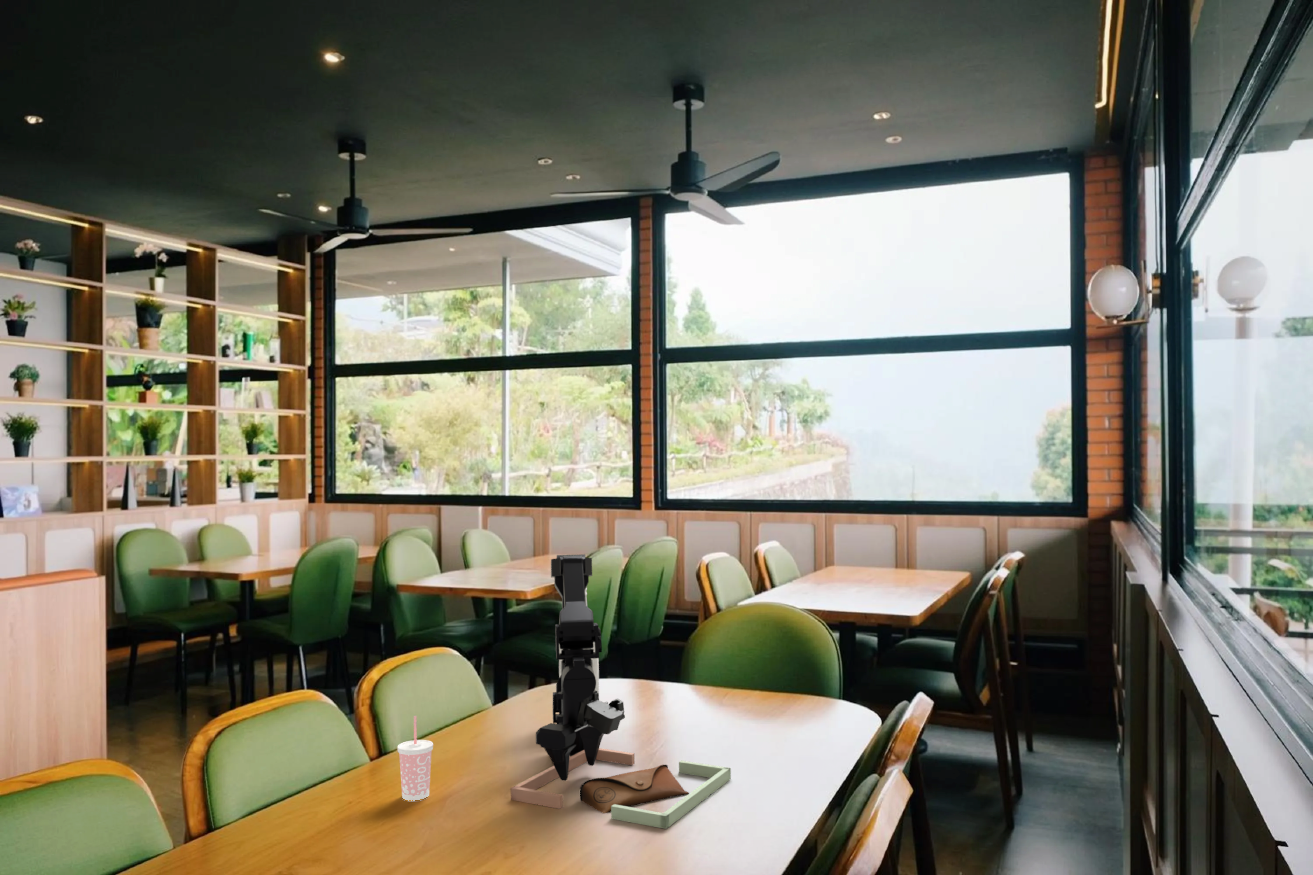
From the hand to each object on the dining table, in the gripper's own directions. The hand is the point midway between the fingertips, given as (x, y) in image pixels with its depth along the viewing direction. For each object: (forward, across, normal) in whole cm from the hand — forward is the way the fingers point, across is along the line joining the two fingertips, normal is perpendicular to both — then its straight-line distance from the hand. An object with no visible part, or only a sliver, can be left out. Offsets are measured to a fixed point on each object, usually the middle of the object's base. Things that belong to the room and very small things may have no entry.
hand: (578, 772), depth 174 cm
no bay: (+2, 0, 0) cm, 2 cm away
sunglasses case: (+2, -2, -13) cm, 14 cm away
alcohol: (+2, +33, +20) cm, 39 cm away
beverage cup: (+2, -19, +21) cm, 29 cm away
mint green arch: (+2, 0, -20) cm, 20 cm away
